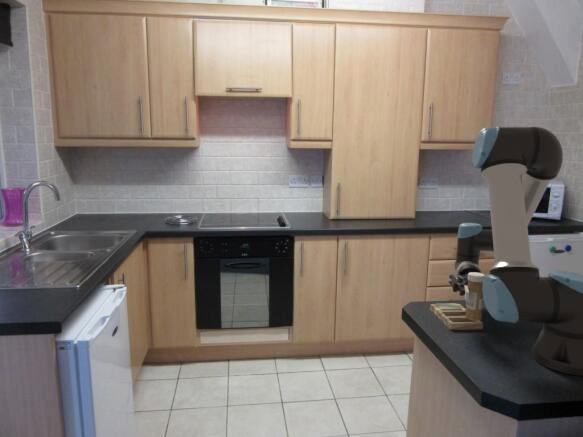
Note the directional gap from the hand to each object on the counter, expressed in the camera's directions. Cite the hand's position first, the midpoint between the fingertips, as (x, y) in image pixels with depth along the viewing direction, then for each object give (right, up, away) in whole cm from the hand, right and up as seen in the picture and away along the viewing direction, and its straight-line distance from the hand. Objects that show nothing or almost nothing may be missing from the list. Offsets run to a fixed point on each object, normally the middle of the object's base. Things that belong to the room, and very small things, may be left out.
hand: (477, 297), depth 123 cm
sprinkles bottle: (+1, -7, +6) cm, 10 cm away
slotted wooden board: (+1, -10, +19) cm, 21 cm away
